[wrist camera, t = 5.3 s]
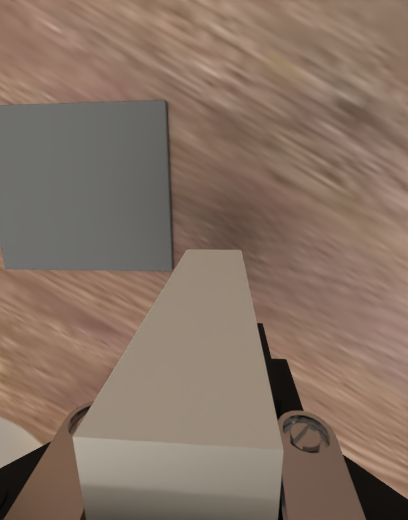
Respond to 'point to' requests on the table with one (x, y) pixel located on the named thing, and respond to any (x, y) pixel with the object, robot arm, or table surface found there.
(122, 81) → the table surface
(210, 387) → the block
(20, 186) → the mat
